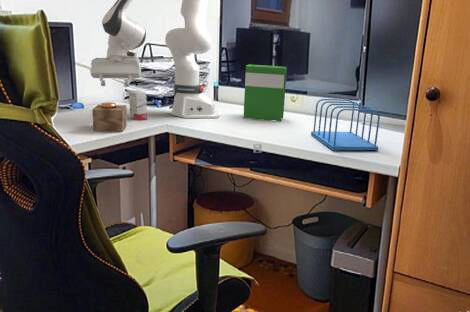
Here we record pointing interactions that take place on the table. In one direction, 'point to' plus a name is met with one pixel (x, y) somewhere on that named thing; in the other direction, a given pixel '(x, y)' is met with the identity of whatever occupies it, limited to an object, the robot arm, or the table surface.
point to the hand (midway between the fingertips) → (114, 85)
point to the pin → (108, 105)
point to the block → (109, 118)
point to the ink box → (137, 105)
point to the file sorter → (345, 138)
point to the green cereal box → (264, 92)
